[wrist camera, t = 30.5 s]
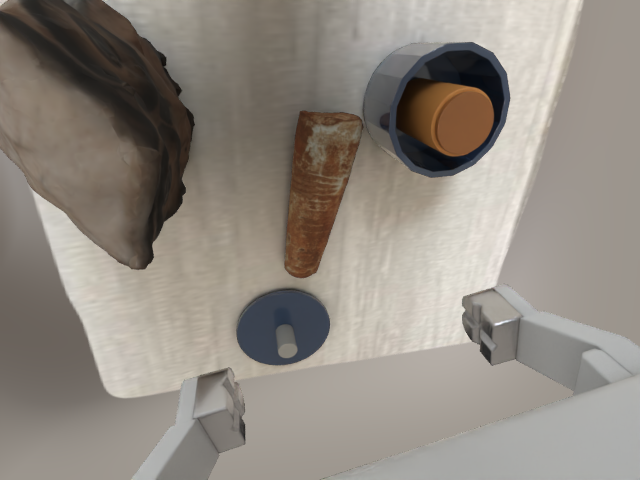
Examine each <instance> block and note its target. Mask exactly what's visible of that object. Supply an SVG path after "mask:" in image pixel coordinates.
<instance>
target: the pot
mask: <svg viewBox="0 0 640 480" xmlns="http://www.w3.org/2000/svg"><path fill="white" fill-rule="evenodd" d="M417 78H424V79H430V80H435V81H441V82H446V83H452V84H457V85H463V86H468V87H474V88H477V89H480V90H482V91H483V92H484V93H485V94H486V95H487V96H488V97H489V99H490V101H491V103H492V107H493V112H494V120H493V125H492V128H491V131H490V133H489V135H488V137H487V138H486V140H485V141H484V142H483V143H482V144H481V145H480V146H479V147H478V148H476V149H475V150H473V151H471V152H470V153H468V154H465V155H462V156H448V155H445V154H443V153H441V152H439V151H437V150H435V149H433V148H432V147H430V146H428V145H426V144H424V143H422V142H420V141H418V140H416V139H415V138H413V137H411V136H409V135H407V134H405V133H403V132H402V131H400V130H399V129H398V128H397V127H396V113H397V106H398V103H399V101H400V99H401V96H402V94H403V92H404V89H405V87H406V85H407V83H408V82H409V81H411V80H413V79H417ZM509 102H510V92H509V85H508V79H507V73H506V71H505V70H504V68H503V67H502V65H501V64H500V62H499V61H498V59H497V58H496V56H495V55H494V53H493V52H491V51H489V50H487V49H485V48H483V47H481V46H479V45H477V44H475V43H473V42H433V43H412V44H409V45H406V46H404V47H402V48H399V49H398V50H396V51H394V52H393V53H391V54H390V55H389V56H388V57H386V58H385V59H384V60H383V61H382V62H381V63H380V65H379V66H378V67H377V69H376V70H375V72H374V73H373V75H372V77H371V79H370V81H369V83H368V86H367V89H366V93H365V97H364V119H365V123H366V127H367V129H368V132H369V134H370V135H371V137H372V139H373V140H374V141H375V142H376V144H377V145H379V146H380V147H381V148H382V149H383V150H384V151H385V152H386V153H387V154H389V155H390V156H392V157H393V158H394V159H396V160H397V161H399V162H400V163H401V164H403V165H404V166H405V167H407V168H408V169H410V170H411V171H413V172H416V173H419V174H422V175H425V176H428V177H431V178H433V177H443V176H453V175H455V174H457V173H459V172H461V171H463V170H465V169H467V168H469V167H471V166H473V165H474V164H476V163H477V162H478V161H479V160H480V159H481V158H482V157H483V156H484V155H485V154H486V153H487V152H488V151H489V150H490V149H491V148H492V147H493V145H494V143H495V141H496V139H497V138H498V136H499V134H500V132H501V130H502V129H503V127H504V125H505V122H506V117H507V112H508V107H509Z"/></svg>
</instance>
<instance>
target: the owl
mask: <svg viewBox="0 0 640 480" xmlns="http://www.w3.org/2000/svg"><path fill="white" fill-rule="evenodd" d="M165 65H166V57H165V56H164V55H163V54H162V53H161V52H159V51H157V50H156V49H155V48H154V47H153V46H152V44H151V43H150V42H149V41H148V40H147V39H145V38H142V37H140V36H139V35H138V34H137V32H136V30H135V29H134V27H133V26H132V25H131V23H130V22H129V20H128V19H127V18H125V17H124V16H123V15H121V14H120V13H118V12H117V11H115V10H114V9H112V8H111V7H110V6H109V5H107V4H106V3H105V2H103V1H102V0H8V1H6V2H5V3H4V4H2V5H1V6H0V149H1V150H2V151H3V152H4V153H5V154H6V155H7V157H8V158H9V159H10V160H12V161H13V162H14V163H15V164H16V165H17V166H18V167H19V168H20V169H21V170H22V172H23V173H24V174H25V177H26V179H27V182H28V184H29V185H30V187H31V188H32V189H33V190H34V191H35V192H36V193H38V194H39V195H40V196H41V197H43V198H44V199H46V200H47V201H49V202H50V203H52V204H53V205H55V206H56V207H57V208H59V209H61V210H62V211H64V212H65V213H66V214H67V216H68V217H69V218H70V219H71V221H72V222H73V223H74V224H75V225H76V226H77V228H78V229H79V230H80V231H81V232H82V233H83V234H85V235H86V236H87V237H88V238H89V239H91V240H92V241H93V242H94V243H95V244H97V245H98V246H99V247H101V248H102V249H104V250H105V251H106V252H107V253H108V254H109V255H110V256H112V257H113V258H114V259H116V260H117V261H118V262H119V263H121V264H124V265H126V266H129V267H130V268H131V269H136V270H143V269H146V267H147V265H148V264H150V263H151V262H152V260H153V258H154V254H153V249H152V244H153V242H154V241H155V240H156V238H157V237H158V235H159V233H160V231H161V229H162V227H163V223H164V222H165V221H166V220H167V219H169V218H170V217H171V216H173V215H174V214H175V213H176V212H177V210H178V209H179V207H180V206H181V204H182V201H183V199H182V196H183V195H184V194H185V193H186V187H185V186H184V184H183V182H182V176H183V172H184V169H185V167H186V165H187V162H188V159H189V150H190V144H191V140H192V131H193V127H194V125H195V124H194V117H193V114H192V113H191V112H190V111H189V109H187V108H186V107H185V106H184V105H183V103H182V102H181V101H180V100H179V98H178V96H179V94H180V92H181V91H182V90H181V88H180V87H179V85H178V84H177V83H176V82H175V81H173V80H172V79H171V77H170V76H169V73H168V71H167V69H165V68H164V67H163V66H165Z"/></svg>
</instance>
